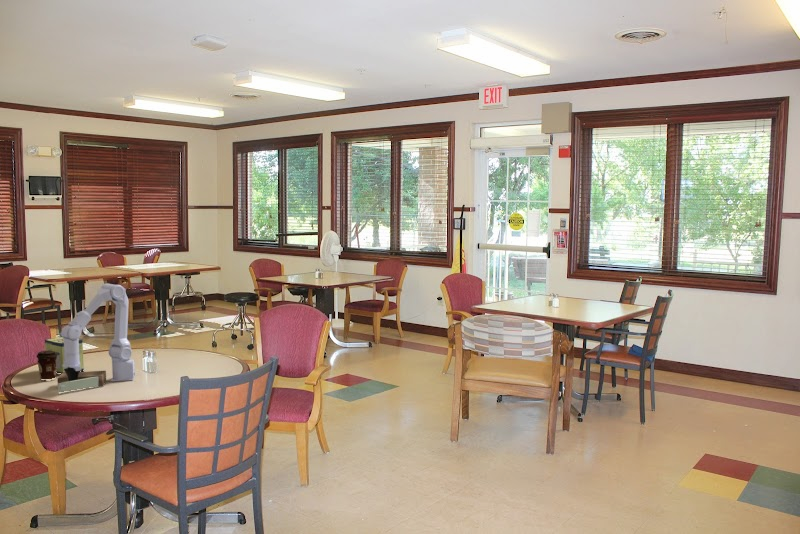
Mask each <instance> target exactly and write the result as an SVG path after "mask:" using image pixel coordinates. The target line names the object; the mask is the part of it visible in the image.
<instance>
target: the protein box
mask: <svg viewBox="0 0 800 534" xmlns="http://www.w3.org/2000/svg"><path fill="white" fill-rule="evenodd" d="M83 344H84V343H83V339H81V338H79V360H80V366H81V371H83V370H84V371H85V367H84V347H83ZM48 350H50V351H55V352H56V354H57V355H58V356H57V365H56V372H57V373H61V374H62V373H66V372H65V371H64V369H66V368H68V367H62V365H63V364H64V361H65V357H64V339H63V337H62V336H59V337H52V338H48V339H46V338H45V339H44V351H48ZM84 371H83V372H84Z"/></svg>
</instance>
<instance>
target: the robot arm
mask: <svg viewBox="0 0 800 534" xmlns="http://www.w3.org/2000/svg"><path fill="white" fill-rule="evenodd" d="M126 291H127V289H126V288H125V287H124V286H122V285H121V284H112V283H108V282H107V283H103V285H102V286H100V288H99V289H98V290H97V293H96V294H95V295H94V297H93V298H92V299H91V300H90V302H89V304H88V305H87V307H86V308H85V309H84V310H81V311H80V310H79V312H76V313H75V316H74V317H73V319H72V320H71V321H69V322H68V324H67V325H65V326H63V327H62V329H61V332H60V333H59V334H60V337H63V339H64V357H65V361H64V364H63V365H62V367H68V368H66V369H64V371H65V372H66V374H67V376H68V379H69V381H74V380H77V378H78V375H79V372H80V371H81V366H80V360H79V339H80V337H82V332H83V330H84V329H85V327H86V326H87V325H88V324H89V322H90V321H91V320H92V315H93V314H94V313H95V312H96V311H97V310H98V309H99V308H100V307H101V305H102V304H104V302H109V301H111V302H113V304H114V305H115V311H114V312H115V313H114V314H115V315H114V331H113V332H114V333H113V334H114V336H113V339H112V340H111V341H110V346H109V347H108V348H109V349H108V355H109V357H111V369H112V371H111V373H112V378H111V379H110V382H122V381H134V379H135V377H136V369H135V366H136V365H135V359H132V358H131V357H132V354H133V351H132V348H131V342H130V341H129V340H128V327H129V324H128V323H129V322H128V321H129V305H130V304H129V303H130V302H129V301H130V300H129V298H128V296H127V293H126ZM130 358H131V359H130Z"/></svg>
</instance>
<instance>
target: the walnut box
mask: <svg viewBox="0 0 800 534" xmlns="http://www.w3.org/2000/svg"><path fill="white" fill-rule="evenodd" d="M97 376H98V378H99V386H103V385H104V386H105V384H106V383H105V382H107V371H106V370H93V371H92V370H91V371H83V372H79V375H78V378H77V380H79V379H85V378H91V377H97ZM56 380H57V384H58V383H62V382H68V381H69V379H68V376H67V374H66V373H62V374H61V375H59V376H57V377H56ZM104 383H105V384H104ZM104 386H103V387H104Z"/></svg>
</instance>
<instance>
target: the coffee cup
mask: <svg viewBox="0 0 800 534" xmlns="http://www.w3.org/2000/svg"><path fill="white" fill-rule="evenodd" d="M57 356H58V355H57V354H56V352H55V351H50V350H48V351H45V350H41V351H39V352H37V354H36V358H37V365H38V372H39V376H40V380H41V379H52V378H55V377H56V378H57V374H56V365H57Z"/></svg>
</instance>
